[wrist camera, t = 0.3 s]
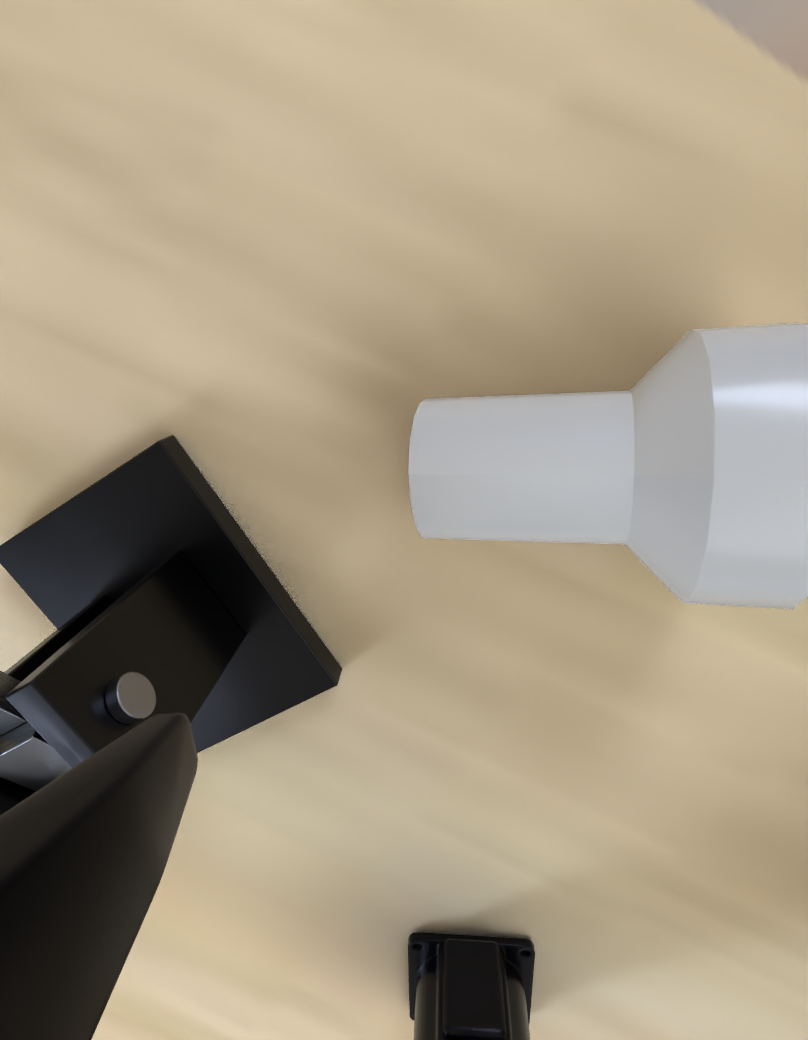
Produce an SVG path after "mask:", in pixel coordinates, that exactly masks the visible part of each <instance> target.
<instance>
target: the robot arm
mask: <svg viewBox="0 0 808 1040" xmlns="http://www.w3.org/2000/svg"><path fill="white" fill-rule="evenodd" d="M197 762H198V761H197V752H196V748H195V743H194V739H193V734H192V730H191V725H190V721H189V718H188V717H187V715H186V714H184V713H182V712H159V713H156V714H154V715H152V716H151V717H149V718H148V719H146V720H145V721H143V722H142V723H140V724H139V725H137V726H136V727H134V728H132V729H131V730H129V731H128V732H126V733H125V734H123V735H122V736H120V737H119V738H117V739H116V740H114V741H113V742H111V743H110V744H108V745H107V746H105V747H104V748H102V749H101V750H99V751H97V752H96V753H94V754H93V755H91V756H90V757H88V758H87V759H85V760H84V761H82V762H81V763H79V764H78V765H76V766H75V767H73V768H72V769H70V770H69V771H67V772H66V773H64V774H63V775H61V776H59V777H58V778H56V779H55V780H53V781H52V782H50V783H49V784H47V785H46V786H44V787H43V788H41V789H40V790H38V791H37V792H35V793H34V794H32V795H31V796H29V797H28V798H26V799H25V800H23V801H21V802H20V803H18V804H17V805H15V806H14V807H12V808H11V809H9V810H8V811H6V812H5V813H3V814H2V815H0V1040H91V1039H92V1037H93V1034H94V1032H95V1030H96V1028H97V1025H98V1023H99V1021H100V1018H101V1016H102V1014H103V1012H104V1009H105V1007H106V1005H107V1002H108V1000H109V998H110V996H111V993H112V991H113V989H114V986H115V984H116V982H117V980H118V977H119V975H120V973H121V970H122V968H123V966H124V964H125V961H126V959H127V957H128V954H129V952H130V950H131V948H132V945H133V943H134V941H135V938H136V936H137V934H138V932H139V929H140V927H141V925H142V922H143V920H144V918H145V916H146V913H147V911H148V909H149V906H150V904H151V902H152V900H153V897H154V895H155V892H156V890H157V887H158V885H159V883H160V880H161V877H162V875H163V872H164V869H165V866H166V863H167V860H168V857H169V854H170V851H171V848H172V845H173V842H174V839H175V836H176V833H177V830H178V827H179V824H180V821H181V817H182V814H183V811H184V808H185V805H186V802H187V799H188V796H189V793H190V790H191V787H192V784H193V781H194V778H195V774H196V770H197ZM534 959H535V951H534V945H533V943H532V941H530V940H528V939H521V938H504V937H487V936H470V935H453V934H436V933H419V932H417V933H412V934H411V935H410V936H409V939H408V964H409V1003H410V1018H411V1019H412V1020H414V1021H415V1023H414V1040H530V1033H529V1020H530V1008H531V995H532V983H533V971H534Z"/></svg>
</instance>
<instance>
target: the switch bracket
mask: <svg viewBox="0 0 808 1040" xmlns="http://www.w3.org/2000/svg"><path fill="white" fill-rule="evenodd" d="M0 563H1V565H2V566H3V567H4V568H5V569H6V570H7V572H8V573H9V574H10V575H11V576H12V577H13V578H14V580H15V581H16V582H17V583H18V584H19V585H20V586H21V588H22V589H23V590H24V591H25V592H26V593H27V595H28V596H29V597H30V598H31V599H32V600H33V601H34V603H35V604H36V605H37V606H38V607H39V608H40V610H41V611H42V612H43V613H44V614H45V615H46V616H47V618H48V619H49V620H50V621H51V622H52V623H53V625H54V626H55V627H56V628H57V629H58V630H56V631H55V632H54V633H53V634H51V635H50V636H49V637H48V638H46V639H45V640H44V641H43V642H41V643H40V644H39V645H38V646H37V647H35V648H34V649H33V650H32V651H30V652H29V653H28V654H27V655H25V656H24V657H23V658H22V659H20V660H19V661H18V662H17V663H15V664H14V665H13V666H12V667H10V668H9V669H8V670H7V671H6V672H4V673H6V674H7V675H9V676H11V677H13V678H15V679H17V680H19V681H21V683H20V684H18V685H17V686H16V687H15V688H14V689H13V690H11V691H10V692H9V693H8V694H7V695H6V699H7V700H8V701H9V702H10V703H11V704H12V705H13V707H14V708H15V709H16V710H17V711H18V712H19V713H20V714H21V715H22V716H23V717H24V718H25V719H26V720H27V722H28V723H29V724H30V725H31V726H32V727H33V728H34V729H35V730H36V731H37V732H38V733H39V734H40V735H41V737H42V738H43V739H44V740H45V741H46V742H47V743H48V744H49V745H50V746H51V747H52V748H53V749H54V750H55V751H56V753H57V754H58V755H59V756H60V757H61V758H62V759H63V760H64V761H65V762H66V763H67V764H68V765H69V766H70V768H71V769H72V768H73V767H75V766H76V765H78V764H79V763H81V762H82V761H84V760H85V759H87V758H88V757H90V756H91V755H93V754H94V753H96V752H97V751H99V750H101V749H102V748H104V747H105V746H107V745H108V744H110V743H111V742H113V741H114V740H116V739H117V738H119V737H120V736H122V735H123V734H125V733H126V732H128V731H129V730H131V729H132V728H134V727H136V726H137V725H139V724H140V723H142V722H143V721H145V720H146V719H148V718H149V717H151V716H152V715H154V714H156V713H159V712H182V713H184V714H186V715H187V717H188V718H189V721H190V725H191V730H192V734H193V739H194V743H195V748H196V752H197V753H198V752H200V751H202V750H204V749H206V748H208V747H210V746H213V745H215V744H217V743H219V742H221V741H223V740H225V739H227V738H229V737H231V736H233V735H235V734H237V733H239V732H241V731H244V730H246V729H248V728H250V727H252V726H254V725H256V724H258V723H260V722H262V721H264V720H266V719H268V718H270V717H272V716H275V715H277V714H279V713H281V712H283V711H285V710H287V709H289V708H291V707H293V706H295V705H297V704H299V703H301V702H303V701H306V700H308V699H310V698H312V697H314V696H316V695H318V694H320V693H322V692H324V691H326V690H328V689H330V688H332V687H334V686H336V685H337V684H338V681H339V678H340V675H341V671H342V668H341V667H340V665H339V664H338V663H337V661H336V660H335V658H334V657H333V656H332V654H331V653H330V652H329V650H328V649H327V647H326V646H325V645H324V643H323V642H322V640H321V639H320V638H319V636H318V635H317V633H316V632H315V631H314V629H313V628H312V627H311V625H310V624H309V622H308V621H307V620H306V618H305V617H304V615H303V614H302V613H301V611H300V610H299V609H298V607H297V606H296V604H295V603H294V602H293V600H292V599H291V597H290V596H289V595H288V593H287V592H286V591H285V589H284V588H283V586H282V585H281V584H280V582H279V581H278V579H277V578H276V577H275V575H274V574H273V573H272V571H271V570H270V568H269V567H268V566H267V564H266V563H265V561H264V560H263V559H262V557H261V556H260V555H259V553H258V552H257V550H256V549H255V548H254V546H253V545H252V543H251V542H250V541H249V539H248V538H247V536H246V535H245V534H244V532H243V531H242V530H241V528H240V527H239V525H238V524H237V523H236V521H235V520H234V518H233V517H232V516H231V514H230V513H229V512H228V510H227V509H226V507H225V506H224V505H223V503H222V502H221V500H220V499H219V498H218V496H217V495H216V494H215V492H214V491H213V489H212V488H211V487H210V485H209V484H208V482H207V481H206V480H205V478H204V477H203V476H202V474H201V473H200V471H199V470H198V469H197V467H196V466H195V464H194V463H193V462H192V460H191V459H190V458H189V456H188V455H187V453H186V452H185V451H184V449H183V448H182V446H181V445H180V444H179V442H178V441H177V439H176V438H175V437H174V436H173V435H171V436H169V437H167V438H164V439H162V440H160V441H158V442H156V443H155V444H153V445H152V446H150V447H149V448H147V449H146V450H144V451H143V452H141V453H140V454H138V455H137V456H135V457H134V458H132V459H131V460H129V461H127V462H126V463H124V464H123V465H121V466H120V467H118V468H117V469H115V470H114V471H112V472H111V473H109V474H108V475H106V476H105V477H103V478H102V479H100V480H99V481H97V482H96V483H94V484H93V485H91V486H90V487H88V488H87V489H85V490H84V491H82V492H81V493H79V494H78V495H76V496H75V497H73V498H71V499H70V500H68V501H67V502H65V503H64V504H62V505H61V506H59V507H58V508H56V509H55V510H53V511H52V512H50V513H49V514H47V515H46V516H44V517H43V518H41V519H40V520H38V521H37V522H35V523H34V524H32V525H31V526H29V527H28V528H26V529H25V530H23V531H22V532H20V533H19V534H17V535H15V536H14V537H12V538H11V539H9V540H8V541H6V542H5V543H3V544H2V545H0ZM35 792H36V791H34V790H31V789H29V788H26V787H24V786H21V785H19V784H16V783H14V782H11V781H9V780H7V779H4V778H2V777H0V815H2V814H3V813H5V812H6V811H8V810H9V809H11V808H12V807H14V806H15V805H17V804H18V803H20V802H21V801H23V800H25V799H26V798H28V797H29V796H31V795H32V794H34V793H35Z"/></svg>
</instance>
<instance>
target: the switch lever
mask: <svg viewBox="0 0 808 1040" xmlns="http://www.w3.org/2000/svg"><path fill="white" fill-rule="evenodd" d="M20 683H21V681H19V680H17V679H15V678H13V677H11V676H9V675H7V674H6V673H4V672H2V671H0V777H2V778H4V779H7V780H9V781H11V782H14V783H16V784H19V785H21V786H24V787H26V788H29V789H31V790H34V791H36V792H37V791H38V790H40V789H41V788H43V787H44V786H46V785H47V784H49V783H50V782H52V781H53V780H55V779H56V778H58V777H59V776H61V775H63V774H64V773H66V772H67V771H69V770H70V769H71V768H70V766H69V765H68V764H67V763H66V762H65V761H64V760H63V759H62V758H61V757H60V756H59V755H58V754H57V753H56V751H55V750H54V749H53V748H52V747H51V746H50V745H49V744H48V743H47V742H46V741H45V740H44V739H43V738H42V737H41V735H40V734H39V733H38V732H37V731H36V730H35V729H34V728H33V727H32V726H31V725H30V724H29V723H28V722H27V720H26V719H25V718H24V717H23V716H22V715H21V714H20V713H19V712H18V711H17V710H16V709H15V708H14V707H13V705H12V704H11V703H10V702H9V701H8V700H7V699H6V695H7V694H8V693H9V692H10V691H11V690H13V689H14V688H15V687H16V686H17V685H18V684H20Z"/></svg>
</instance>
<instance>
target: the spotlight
mask: <svg viewBox="0 0 808 1040" xmlns="http://www.w3.org/2000/svg"><path fill="white" fill-rule="evenodd" d="M408 476H409V489H410V502H411V508H412V513H413V517H414V522H415V526H416V528H417V530H418V532H419V534H420V535H421V537H422V538H428V539H461V540H494V541H527V542H559V543H592V544H624V545H625V546H626V547H627V548H628V549H629V550H630V551H631V552H632V553H633V554H634V555H635V556H636V557H637V558H638V559H639V560H640V561H641V563H642V564H643V565H644V566H645V567H646V568H647V569H648V570H649V571H650V572H651V573H652V574H653V575H654V576H655V577H656V578H657V579H658V580H659V581H660V582H661V583H662V584H663V585H664V586H665V587H666V588H667V589H668V590H669V591H670V592H671V593H672V594H673V595H674V596H675V597H676V598H677V599H678V600H680V601H682V602H685V603H688V604H706V605H724V606H742V607H760V608H778V609H794V608H795V607H796V606H797V605H799V604H800V603H801V602H802V601H803V600H805V599H806V598H807V597H808V324H804V323H782V324H767V325H752V326H736V327H721V328H706V329H691V330H689V331H688V332H687V333H686V334H685V335H684V336H683V337H682V338H681V339H680V340H679V341H678V342H677V343H676V344H675V345H674V346H673V347H672V348H671V349H670V350H669V351H668V352H667V353H666V354H665V355H664V356H663V357H662V358H661V359H660V360H659V361H658V362H657V363H656V364H655V365H654V366H653V367H652V368H651V369H650V370H649V371H648V372H647V373H646V374H645V375H644V376H643V377H642V378H641V379H640V380H639V381H638V382H637V383H636V384H635V385H634V386H633V387H632V388H631V389H630V390H629V391H605V392H580V393H555V394H530V395H505V396H480V397H455V398H430V399H425V400H423V401H422V402H420V403H419V406H418V408H417V411H416V414H415V416H414V419H413V425H412V431H411V438H410V444H409V474H408Z"/></svg>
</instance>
